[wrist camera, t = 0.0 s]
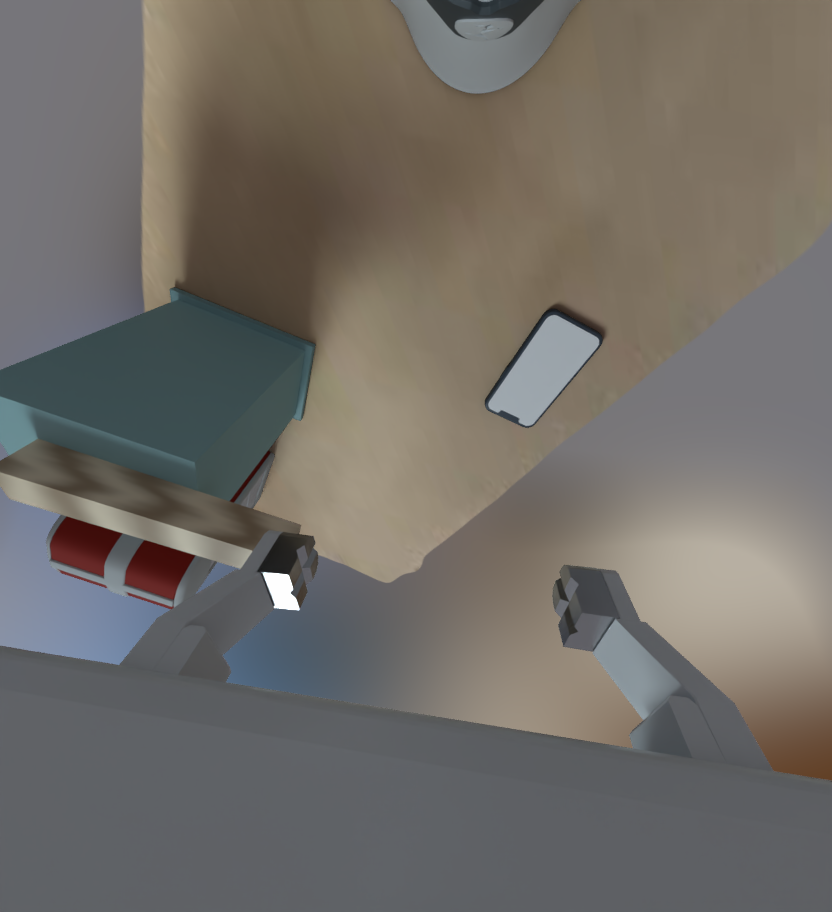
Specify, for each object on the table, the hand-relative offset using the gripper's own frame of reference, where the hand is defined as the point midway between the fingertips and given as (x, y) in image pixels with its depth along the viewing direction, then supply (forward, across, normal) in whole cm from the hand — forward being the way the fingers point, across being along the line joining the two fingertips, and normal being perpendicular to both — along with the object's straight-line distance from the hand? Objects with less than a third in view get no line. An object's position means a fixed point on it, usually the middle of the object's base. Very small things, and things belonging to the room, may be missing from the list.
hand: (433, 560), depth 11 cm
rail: (+14, +25, +13) cm, 32 cm away
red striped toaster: (+42, +44, +30) cm, 68 cm away
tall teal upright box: (+40, +32, +8) cm, 52 cm away
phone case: (+40, -12, +7) cm, 43 cm away
